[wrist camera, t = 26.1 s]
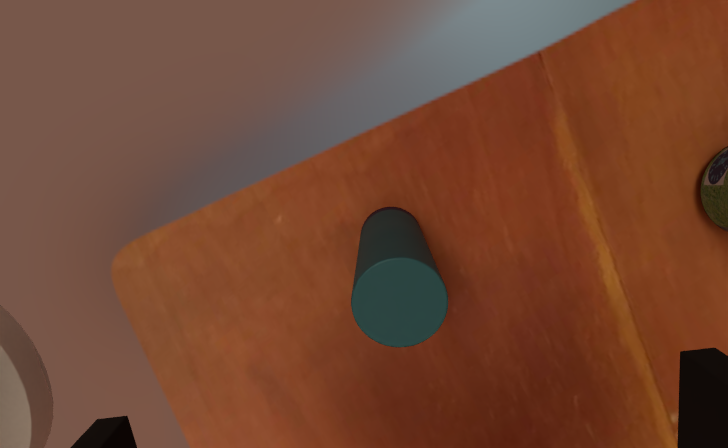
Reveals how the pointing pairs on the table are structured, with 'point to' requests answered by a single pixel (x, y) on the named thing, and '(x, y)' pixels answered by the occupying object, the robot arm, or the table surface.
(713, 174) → the beverage can
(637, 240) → the table surface
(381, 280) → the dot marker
